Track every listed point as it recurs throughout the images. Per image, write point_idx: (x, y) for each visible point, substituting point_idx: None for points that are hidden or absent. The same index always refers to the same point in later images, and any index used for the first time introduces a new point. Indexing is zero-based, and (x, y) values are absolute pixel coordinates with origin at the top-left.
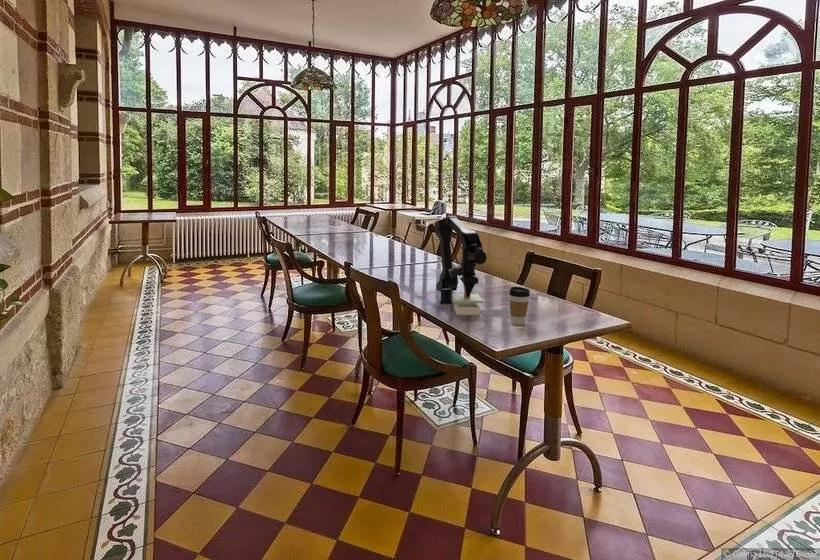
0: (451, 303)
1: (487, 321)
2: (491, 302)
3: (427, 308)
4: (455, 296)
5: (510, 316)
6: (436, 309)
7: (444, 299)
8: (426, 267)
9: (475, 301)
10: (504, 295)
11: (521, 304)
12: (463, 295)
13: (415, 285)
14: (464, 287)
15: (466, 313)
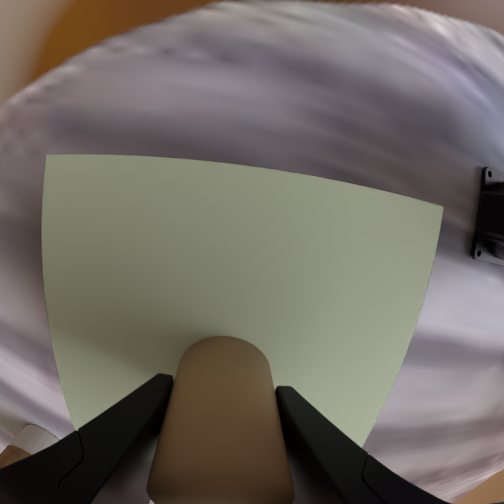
0: (475, 243)
1: (42, 355)
2: (417, 447)
3: (400, 40)
4: (308, 215)
5: (30, 447)
6: (375, 83)
7: (500, 194)
8: None
9: (68, 394)
10: (461, 467)
11: None
12: (342, 351)
13: None
14: (222, 466)
15: None
